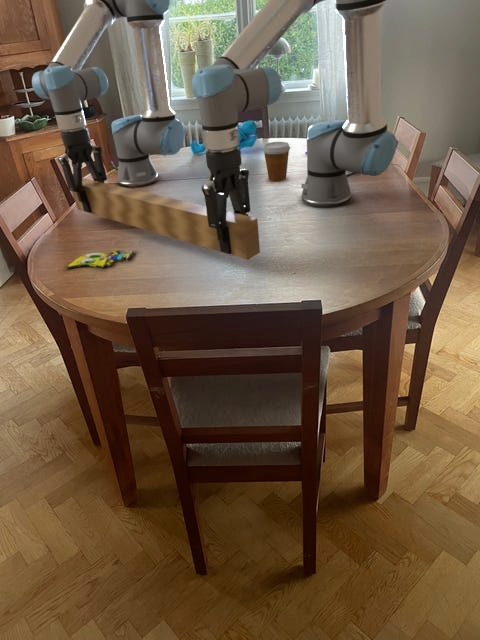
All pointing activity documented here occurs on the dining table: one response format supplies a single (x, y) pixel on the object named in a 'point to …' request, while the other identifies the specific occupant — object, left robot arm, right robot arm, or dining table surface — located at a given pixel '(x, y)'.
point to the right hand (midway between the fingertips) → (233, 247)
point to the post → (170, 217)
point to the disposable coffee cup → (276, 160)
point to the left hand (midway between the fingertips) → (95, 208)
